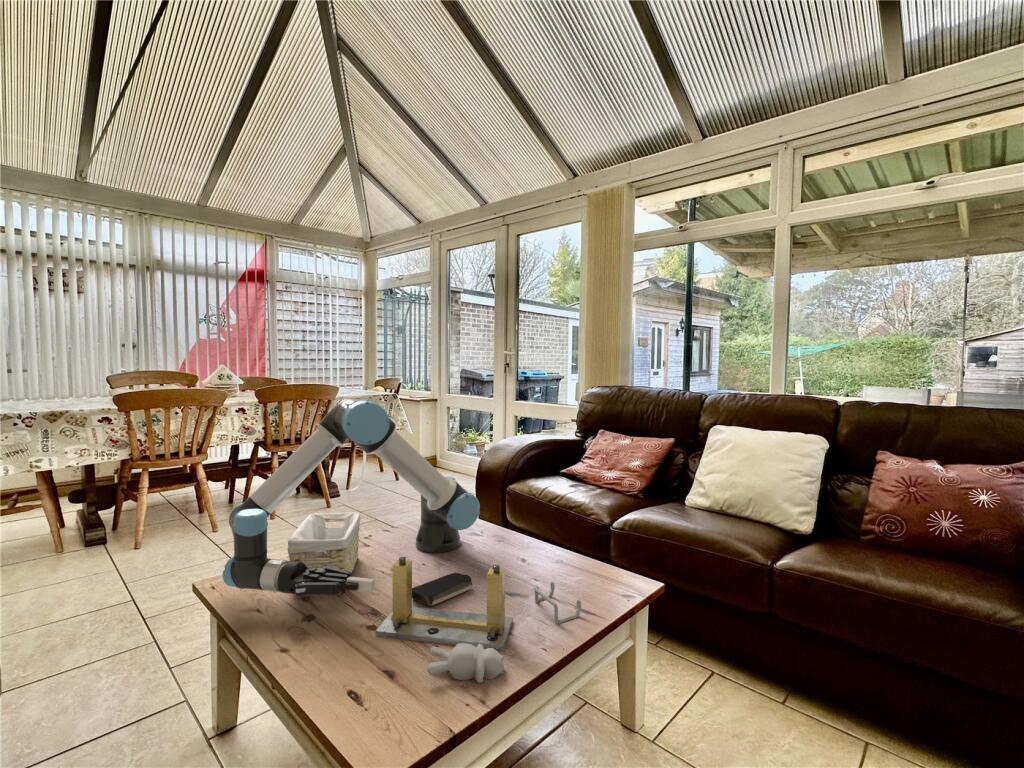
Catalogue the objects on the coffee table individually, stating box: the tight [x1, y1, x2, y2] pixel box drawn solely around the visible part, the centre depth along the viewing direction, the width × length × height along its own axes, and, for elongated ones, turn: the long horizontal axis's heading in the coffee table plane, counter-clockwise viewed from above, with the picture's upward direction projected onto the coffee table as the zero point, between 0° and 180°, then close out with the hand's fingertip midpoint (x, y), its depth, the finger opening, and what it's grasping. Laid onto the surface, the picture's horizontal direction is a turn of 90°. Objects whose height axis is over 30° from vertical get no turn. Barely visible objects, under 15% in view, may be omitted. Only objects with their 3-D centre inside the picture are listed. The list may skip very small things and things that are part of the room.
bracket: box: [533, 581, 582, 624], centre depth 126 cm, size 13×8×5 cm, turn 30°
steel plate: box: [375, 606, 514, 652], centre depth 116 cm, size 12×30×1 cm, turn 80°
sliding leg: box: [392, 556, 413, 627], centre depth 117 cm, size 6×4×15 cm, turn 170°
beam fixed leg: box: [391, 564, 506, 638], centre depth 115 cm, size 6×27×15 cm, turn 80°
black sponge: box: [412, 572, 473, 607], centre depth 133 cm, size 16×8×4 cm, turn 136°
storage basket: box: [287, 511, 361, 573], centre depth 145 cm, size 24×16×15 cm
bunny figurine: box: [427, 643, 505, 684], centre depth 100 cm, size 10×5×15 cm
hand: (372, 585), depth 119 cm, fingers closed
